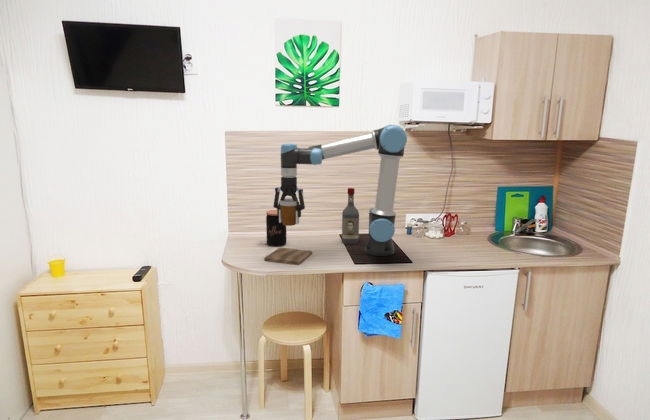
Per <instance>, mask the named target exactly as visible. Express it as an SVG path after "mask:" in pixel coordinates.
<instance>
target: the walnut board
mask: <svg viewBox="0 0 650 420" xmlns="http://www.w3.org/2000/svg"><path fill="white" fill-rule="evenodd" d="M312 254H313V251H312V250H310V249H309V250H307V249H300V248H299V249H297V248H290V247H289V248H287V247H281V246H278V248H276V249H275V250H274V251H272V252H271V253H270V254H268V255H266V256H265V257H264V258H263V259H264V262H269V263H278V264H279V263H280V264H286V265H287V264H288V265H295V266H296V265H297V266H300V265H301V264H302V263H304V261H305V260H307V259H308V258H309V257H310V256H311V255H312Z"/></svg>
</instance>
